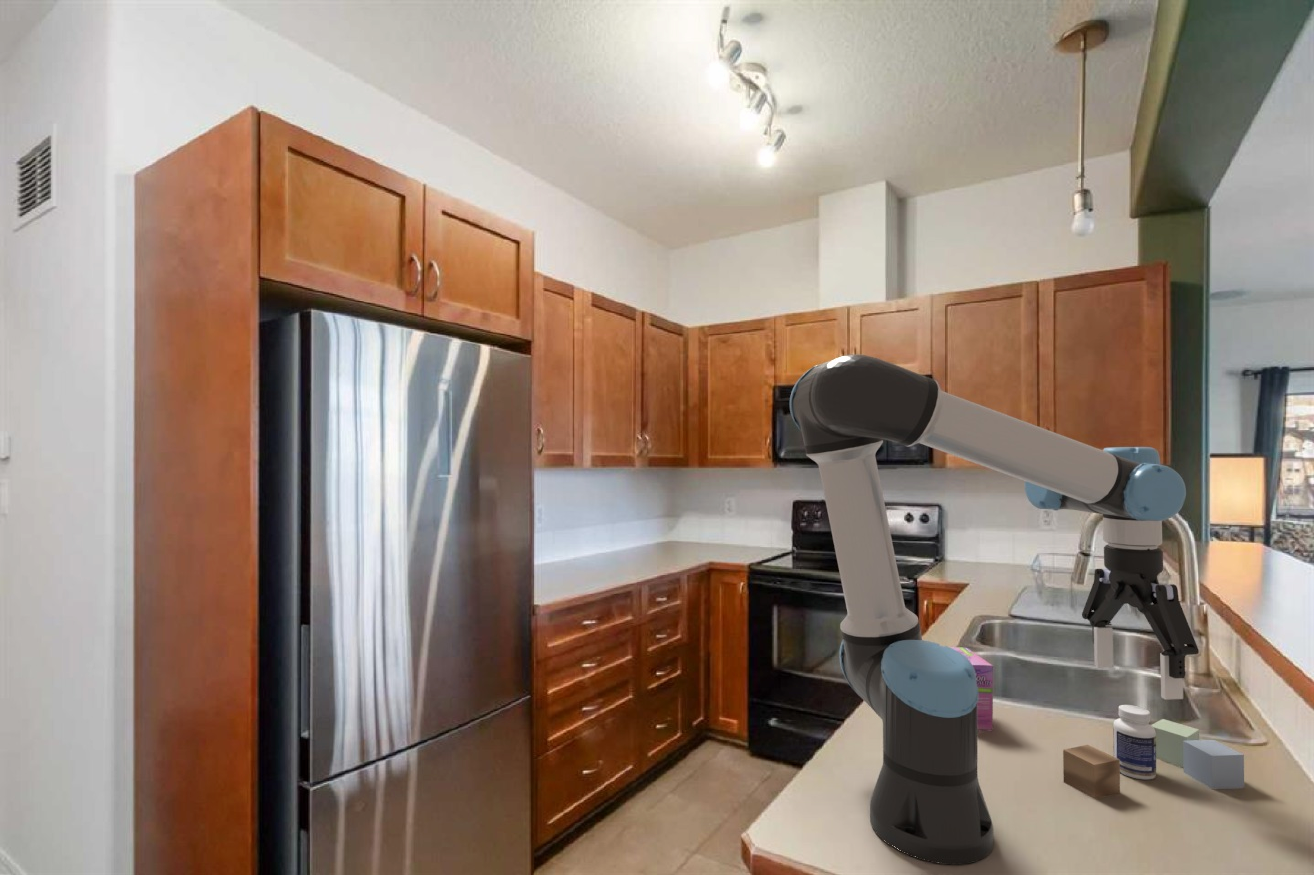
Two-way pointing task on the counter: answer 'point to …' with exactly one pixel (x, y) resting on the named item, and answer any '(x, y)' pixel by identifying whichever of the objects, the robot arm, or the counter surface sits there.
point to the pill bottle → (1135, 742)
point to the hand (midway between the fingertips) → (1135, 681)
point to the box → (981, 688)
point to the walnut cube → (1091, 771)
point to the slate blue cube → (1213, 764)
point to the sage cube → (1172, 740)
